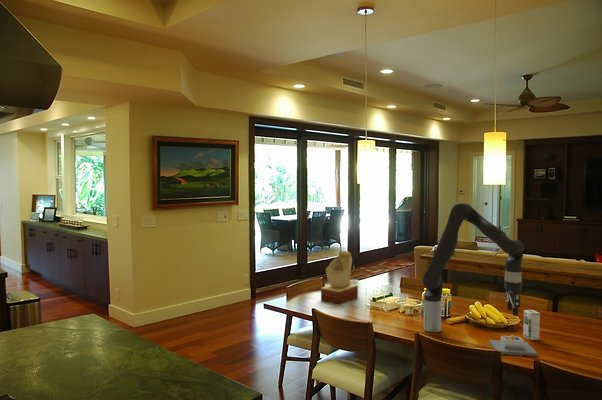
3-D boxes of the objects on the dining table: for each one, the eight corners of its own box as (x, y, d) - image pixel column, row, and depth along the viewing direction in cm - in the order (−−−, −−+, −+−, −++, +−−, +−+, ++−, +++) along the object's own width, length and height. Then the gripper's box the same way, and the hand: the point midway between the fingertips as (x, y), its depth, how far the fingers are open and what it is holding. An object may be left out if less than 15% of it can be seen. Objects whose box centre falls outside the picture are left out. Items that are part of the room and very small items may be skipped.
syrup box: (522, 336, 230) (523, 309, 230) (533, 336, 231) (533, 309, 230) (529, 340, 225) (529, 313, 224) (540, 339, 225) (540, 312, 225)
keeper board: (497, 354, 206) (497, 339, 206) (488, 342, 221) (489, 329, 221) (537, 356, 204) (537, 341, 203) (526, 344, 218) (526, 331, 218)
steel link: (504, 348, 210) (504, 340, 210) (500, 343, 216) (500, 335, 216) (523, 349, 209) (524, 340, 209) (519, 344, 215) (519, 336, 215)
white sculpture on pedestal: (340, 293, 325) (340, 247, 324) (360, 297, 314) (360, 250, 313) (320, 300, 307) (320, 251, 305) (341, 304, 295) (340, 254, 294)
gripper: (500, 277, 219) (500, 308, 219) (509, 283, 205) (508, 316, 205) (516, 277, 218) (515, 309, 218) (526, 283, 204) (525, 317, 204)
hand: (512, 312), depth 212 cm, fingers open, 8 cm apart
